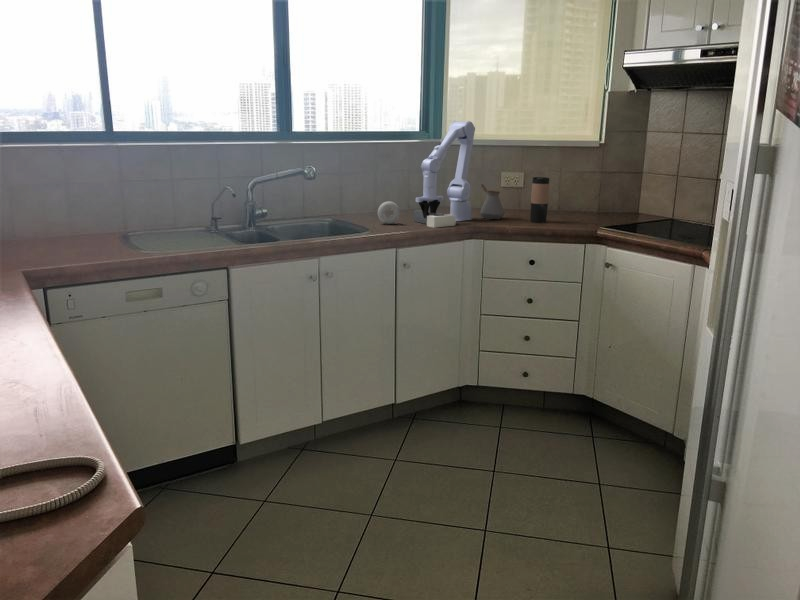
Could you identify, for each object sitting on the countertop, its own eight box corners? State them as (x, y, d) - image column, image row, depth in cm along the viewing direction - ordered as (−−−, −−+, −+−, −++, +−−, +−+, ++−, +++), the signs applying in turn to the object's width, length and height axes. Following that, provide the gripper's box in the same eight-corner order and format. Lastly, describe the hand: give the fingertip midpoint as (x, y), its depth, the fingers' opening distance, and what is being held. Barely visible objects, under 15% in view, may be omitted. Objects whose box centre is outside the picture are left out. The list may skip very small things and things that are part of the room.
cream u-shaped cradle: (448, 224, 295) (448, 213, 294) (455, 225, 292) (455, 215, 291) (426, 226, 288) (427, 215, 286) (434, 227, 284) (434, 217, 283)
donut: (398, 223, 295) (399, 200, 293) (400, 224, 292) (401, 201, 290) (376, 223, 293) (376, 201, 290) (378, 225, 290) (378, 201, 287)
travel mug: (545, 221, 309) (548, 177, 304) (547, 223, 302) (550, 178, 297) (528, 220, 310) (531, 176, 305) (530, 222, 303) (533, 178, 298)
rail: (419, 220, 303) (420, 209, 302) (443, 225, 291) (444, 213, 290) (414, 221, 301) (414, 210, 300) (437, 225, 289) (438, 214, 287)
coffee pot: (508, 220, 311) (509, 187, 307) (484, 220, 308) (486, 187, 304) (490, 214, 331) (492, 183, 327) (469, 214, 328) (470, 183, 324)
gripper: (436, 185, 299) (435, 215, 303) (411, 186, 290) (410, 217, 294) (446, 186, 294) (445, 217, 297) (421, 188, 285) (421, 219, 288)
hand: (429, 217), depth 295 cm, fingers closed on rail, 3 cm apart
